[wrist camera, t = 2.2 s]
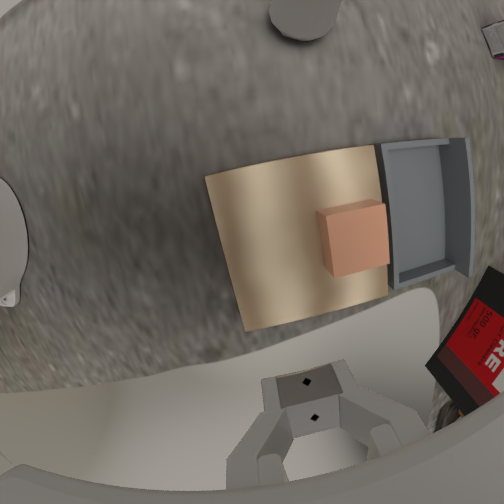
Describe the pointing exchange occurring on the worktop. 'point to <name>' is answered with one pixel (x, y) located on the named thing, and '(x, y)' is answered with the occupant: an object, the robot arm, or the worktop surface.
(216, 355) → the worktop surface
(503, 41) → the candy bar box
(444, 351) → the cleaning product box
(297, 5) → the salt shaker
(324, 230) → the terracotta tile
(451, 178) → the tray
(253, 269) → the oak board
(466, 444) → the robot arm
